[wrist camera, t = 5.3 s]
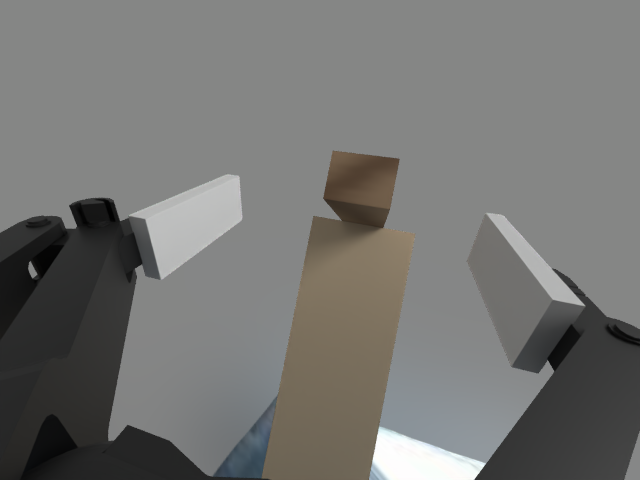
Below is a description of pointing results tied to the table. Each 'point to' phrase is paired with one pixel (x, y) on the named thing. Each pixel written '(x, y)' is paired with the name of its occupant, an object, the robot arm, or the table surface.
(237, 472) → the table surface
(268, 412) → the table surface
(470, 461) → the table surface
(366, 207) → the brown rectangular bar
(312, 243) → the carton
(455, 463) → the table surface
